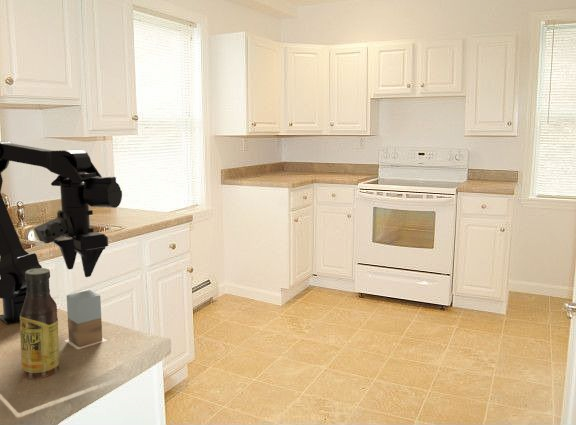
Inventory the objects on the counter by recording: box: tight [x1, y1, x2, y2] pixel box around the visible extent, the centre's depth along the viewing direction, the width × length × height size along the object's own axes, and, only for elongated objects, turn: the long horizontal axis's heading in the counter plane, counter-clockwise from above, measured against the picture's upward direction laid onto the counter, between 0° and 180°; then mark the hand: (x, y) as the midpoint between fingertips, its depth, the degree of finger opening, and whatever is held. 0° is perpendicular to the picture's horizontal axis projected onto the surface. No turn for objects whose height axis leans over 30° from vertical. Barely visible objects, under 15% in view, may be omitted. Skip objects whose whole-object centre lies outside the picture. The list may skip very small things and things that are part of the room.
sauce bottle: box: [19, 267, 60, 379], centre depth 92 cm, size 7×6×20 cm
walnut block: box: [67, 317, 103, 347], centre depth 107 cm, size 5×5×5 cm
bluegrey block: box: [66, 289, 102, 324], centre depth 106 cm, size 5×5×5 cm
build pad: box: [64, 337, 108, 350], centre depth 107 cm, size 10×10×1 cm
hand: (78, 272), depth 116 cm, fingers open, 9 cm apart
